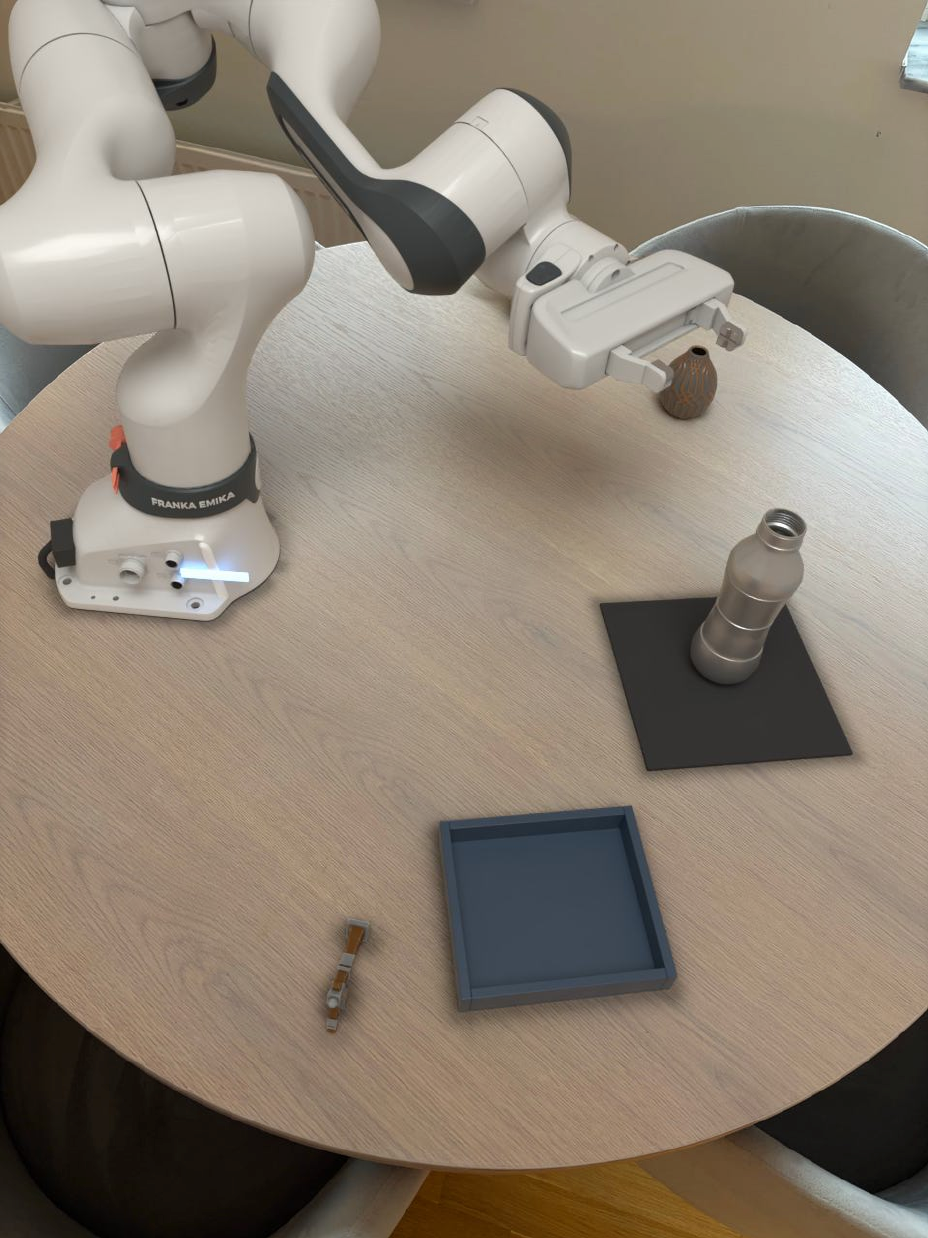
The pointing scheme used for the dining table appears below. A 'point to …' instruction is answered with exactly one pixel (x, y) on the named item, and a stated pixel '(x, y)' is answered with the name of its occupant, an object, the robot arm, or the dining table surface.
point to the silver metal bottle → (750, 598)
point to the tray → (551, 908)
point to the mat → (717, 692)
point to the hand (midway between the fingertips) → (704, 361)
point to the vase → (690, 384)
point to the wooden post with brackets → (345, 970)
